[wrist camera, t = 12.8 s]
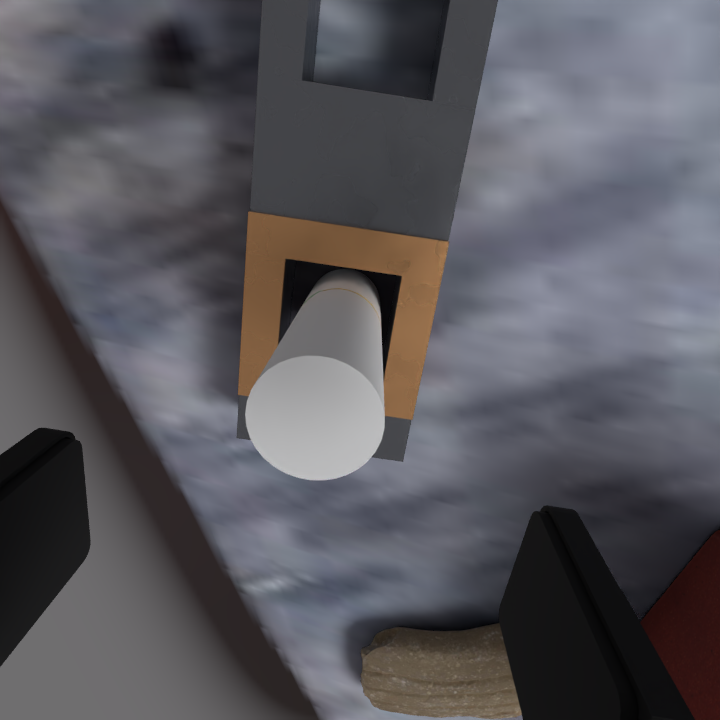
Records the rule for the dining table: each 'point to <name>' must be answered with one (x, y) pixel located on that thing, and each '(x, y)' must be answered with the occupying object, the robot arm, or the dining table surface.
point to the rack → (356, 190)
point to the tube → (323, 383)
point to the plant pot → (692, 631)
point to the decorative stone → (440, 673)
